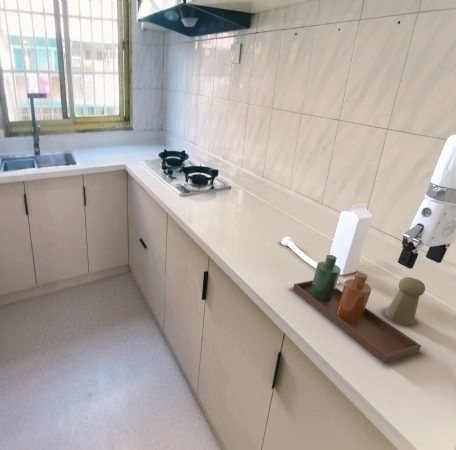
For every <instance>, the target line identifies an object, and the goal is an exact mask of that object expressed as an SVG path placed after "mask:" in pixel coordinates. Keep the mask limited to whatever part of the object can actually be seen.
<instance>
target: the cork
mask: <svg viewBox="0 0 456 450" xmlns="http://www.w3.org/2000/svg"><path fill="white" fill-rule="evenodd" d="M425 292H426V285H425V283H424V282H423V281H422V280H419V279H417V278H415V277H411V276H410V277H408V276H406V277H402V278H401V279H400V280H399V281H398V291H397V292H396V294H395V296H394V297H393V299H392V301H391V302H390V304H389V305H388V306H387V309H386V310H385V316H386V317H387V318H388V319H389V320H390V321H392V322H394V323H396V324H399V325H401V326H412V325H414V322H415V318H416V315H417V308H418V305H419V301H420V300H419V299H420V296H422V295H424V293H425Z"/></svg>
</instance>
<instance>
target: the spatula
mask: <svg viewBox="0 0 456 450" xmlns="http://www.w3.org/2000/svg"><path fill="white" fill-rule="evenodd" d="M281 245H283V246H284V247H289V248H290V249H291V250H292V251H293V252H294V253H295V254H296V255H298V257H300V258H301V259H302V260H303V261H304V262H306V263H307V264H308V265H310V266H311V267H313V268H314V269H316V267H317V264H318V263H319V262H317V261H315V260H313V259H312V258H310V257H309V256H308V255H307V254H306V253H305V252H303V251H302V250H301V249H300V248H299V247H297V246H296V244H295V243H294V239H293V238H292V237H290V236H286V237H283V239H282V240H281ZM339 283H340V280H338V281H337V284H339ZM337 284H336V285H337Z"/></svg>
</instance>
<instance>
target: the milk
mask: <svg viewBox="0 0 456 450" xmlns="http://www.w3.org/2000/svg"><path fill="white" fill-rule="evenodd" d="M373 217H374V216H373V215H372V213H371V212H370V211H369V210H368V209H367V202H363V203H356V204H353V205H352V206H351V209H348V210H342V211H341V212H340V215H339V219H338V223H337V226H336V230H335V233H334V237H333V241H332V244H331V248H330V250H329V251H330V252H329V255H333V256H335V257H336V258H337V259H336V263H335V265H337V266H338V267H339V268H340V269H341V271H340V274H339V276H340V275H341V276H345V275H348V274H352V273H356V272H357V268H358V265H359V262H360V259H361V256H362V253H363V249H364V246H365V242H366V240H367V237H368V233H369V230H370V227H371V224H372V221H373Z"/></svg>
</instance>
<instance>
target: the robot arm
mask: <svg viewBox="0 0 456 450" xmlns="http://www.w3.org/2000/svg"><path fill="white" fill-rule="evenodd" d="M455 241H456V133H454V134H452V135H450V136H448V138H447V139H446V141H445V143H444V146H443V148H442V151H441V153H440V155H439V158H438V161H437V163H436V166H435V168H434V171H433V173H432V176H431V179H430V181H429V184H428V186H427V189H426V191H425V194H424V199H423V201H422V203H421V204H420V206H419V208H418V210H417V212H416V213H415V216H414V218H413V220H412V223H411V225H410V228H409V230H407V231H405V232H404V233H403V234H402V242H401V245H402V246H401V248H402V249H401V252H400V255H399V256H398V260H397V263H398V264H399V265H401V266H403V267H405V268H407V269H409V270H411V269H412V270H413V269H414V266H415V263H416V262H417V259H418V257H419V253H418V252H419V251H420V250H421V249H422V248H423V246H425V247H427V248H428V250H427V253H426V255H425V258H426V259H428V260H430V261H432V262H435V263H437V264H441V263H442V261H443V259H444V257H445V254H446V252H447V250H448V248H449V247H450V246H451V244H453V243H455ZM414 243H416V245H415V244H414Z"/></svg>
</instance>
